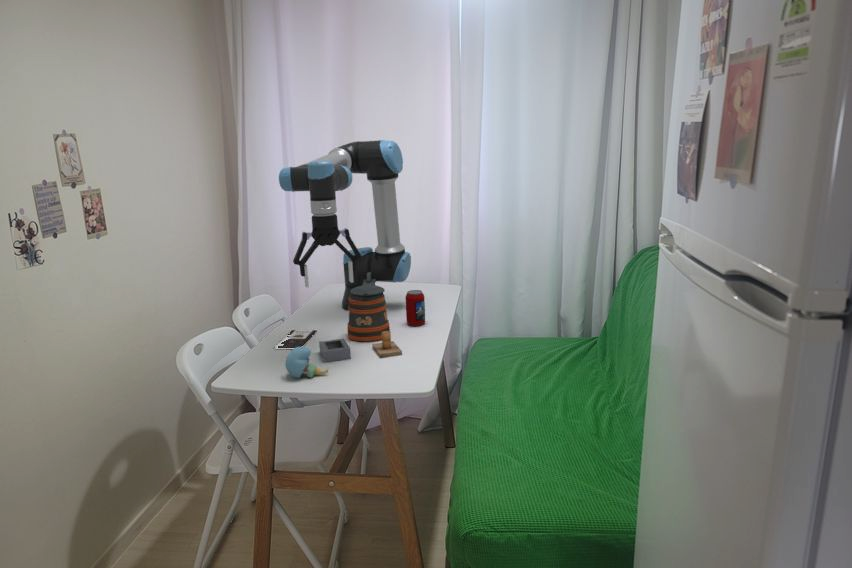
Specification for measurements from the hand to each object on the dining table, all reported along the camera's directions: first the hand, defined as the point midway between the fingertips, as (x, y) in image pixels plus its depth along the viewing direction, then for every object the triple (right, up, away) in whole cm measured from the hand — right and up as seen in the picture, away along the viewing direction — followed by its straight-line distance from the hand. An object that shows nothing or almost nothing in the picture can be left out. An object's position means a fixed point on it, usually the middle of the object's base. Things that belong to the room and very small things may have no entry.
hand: (329, 284), depth 186 cm
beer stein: (+10, -17, +26) cm, 33 cm away
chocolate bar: (-15, -20, +22) cm, 33 cm away
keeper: (+17, -21, +8) cm, 28 cm away
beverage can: (+26, -14, +34) cm, 45 cm away
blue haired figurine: (-5, -27, -9) cm, 29 cm away
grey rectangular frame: (+1, -22, +6) cm, 23 cm away
